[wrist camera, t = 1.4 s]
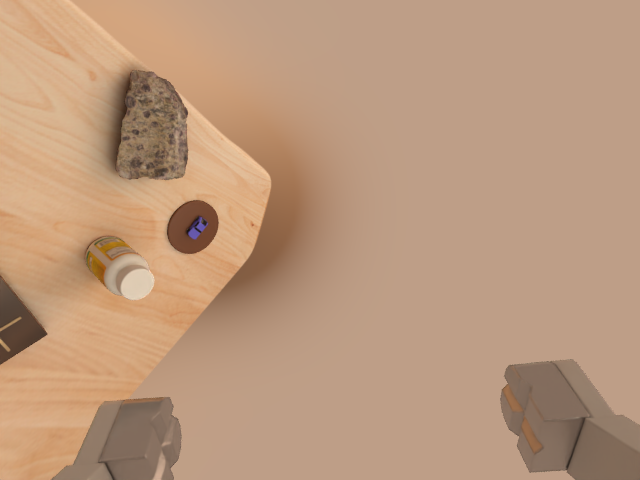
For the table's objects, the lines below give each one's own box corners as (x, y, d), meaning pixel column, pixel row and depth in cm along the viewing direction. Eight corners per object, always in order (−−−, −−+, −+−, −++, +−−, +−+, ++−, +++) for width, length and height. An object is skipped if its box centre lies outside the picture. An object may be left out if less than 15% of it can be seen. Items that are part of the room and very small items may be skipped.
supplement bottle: (102, 227, 57) (135, 254, 51) (134, 248, 61) (169, 275, 55) (74, 262, 56) (104, 294, 50) (108, 280, 60) (140, 312, 54)
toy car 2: (156, 235, 63) (161, 238, 62) (192, 189, 64) (197, 192, 63) (194, 261, 69) (199, 265, 68) (226, 220, 70) (231, 223, 69)
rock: (117, 187, 56) (195, 173, 61) (125, 190, 52) (209, 175, 56) (90, 77, 53) (175, 72, 58) (96, 69, 48) (188, 64, 53)
